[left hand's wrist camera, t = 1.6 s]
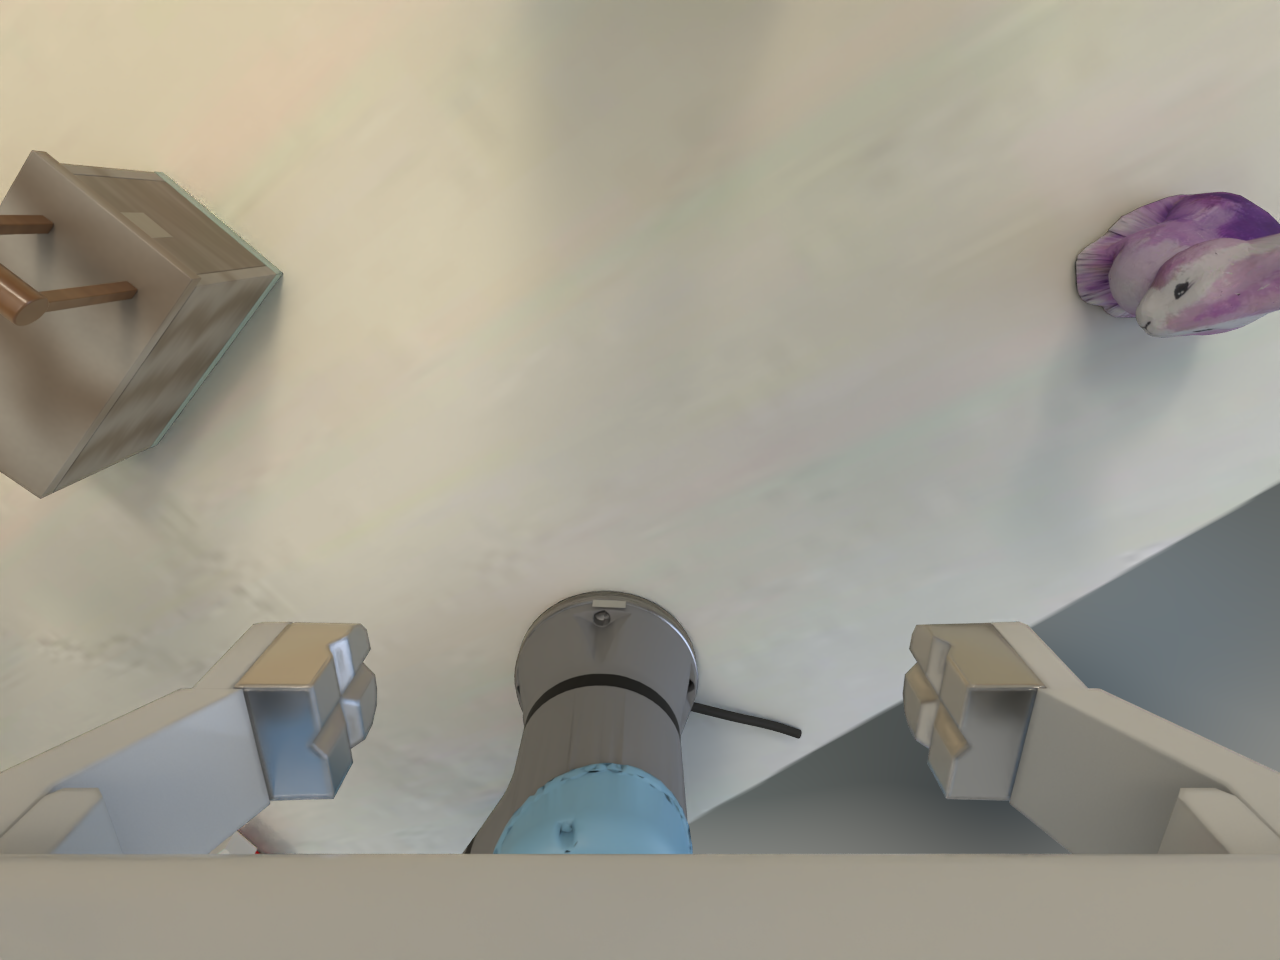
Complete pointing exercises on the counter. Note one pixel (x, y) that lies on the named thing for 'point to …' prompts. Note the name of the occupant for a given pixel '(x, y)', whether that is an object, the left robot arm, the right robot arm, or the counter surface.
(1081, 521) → the counter surface
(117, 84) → the counter surface
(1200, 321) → the figurine
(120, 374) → the lid
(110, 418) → the chest
